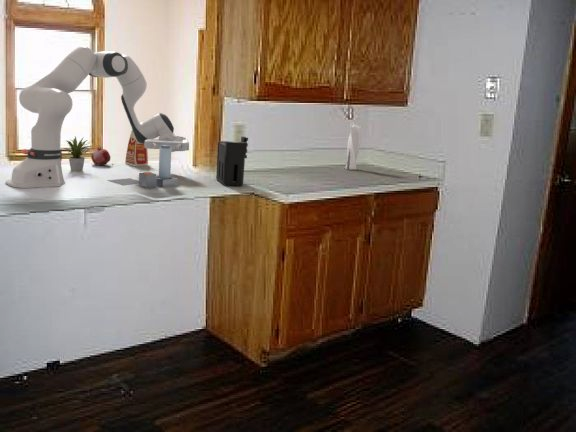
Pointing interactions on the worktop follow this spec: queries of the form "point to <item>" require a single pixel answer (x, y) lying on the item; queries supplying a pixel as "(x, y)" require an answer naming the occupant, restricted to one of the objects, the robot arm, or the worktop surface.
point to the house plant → (77, 155)
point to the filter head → (155, 181)
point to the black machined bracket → (231, 162)
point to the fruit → (100, 156)
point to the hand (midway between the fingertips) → (166, 147)
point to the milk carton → (136, 152)
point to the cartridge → (164, 162)
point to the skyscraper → (353, 147)
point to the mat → (125, 181)
